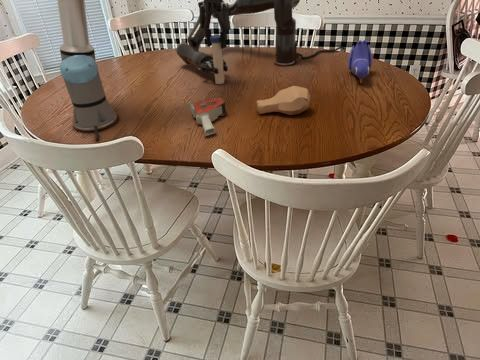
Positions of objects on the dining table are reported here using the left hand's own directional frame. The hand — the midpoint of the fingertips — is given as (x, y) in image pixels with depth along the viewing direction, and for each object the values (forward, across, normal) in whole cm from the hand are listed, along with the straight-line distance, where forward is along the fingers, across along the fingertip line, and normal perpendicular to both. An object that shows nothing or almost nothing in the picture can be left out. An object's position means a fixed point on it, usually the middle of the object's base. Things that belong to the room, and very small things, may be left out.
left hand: (216, 46), depth 151 cm
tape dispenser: (+16, -19, +33) cm, 41 cm away
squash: (+16, -40, +14) cm, 45 cm away
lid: (-4, 0, 0) cm, 4 cm away
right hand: (+9, -2, +1) cm, 10 cm away
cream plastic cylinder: (+16, 0, 0) cm, 16 cm away
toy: (+16, -52, -32) cm, 63 cm away
